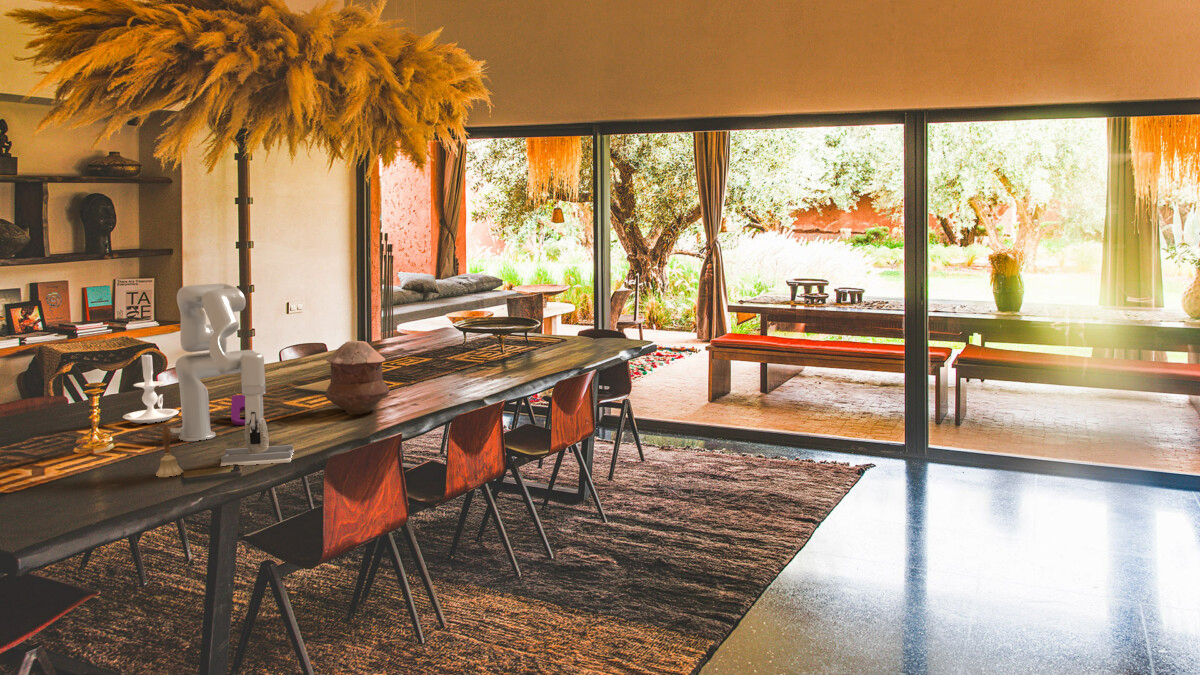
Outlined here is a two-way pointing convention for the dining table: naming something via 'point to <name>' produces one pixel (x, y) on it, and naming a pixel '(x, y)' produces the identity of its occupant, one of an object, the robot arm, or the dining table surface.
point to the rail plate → (258, 456)
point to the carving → (263, 435)
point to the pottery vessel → (356, 378)
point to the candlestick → (150, 398)
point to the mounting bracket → (237, 409)
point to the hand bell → (168, 458)
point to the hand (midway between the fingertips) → (256, 441)
